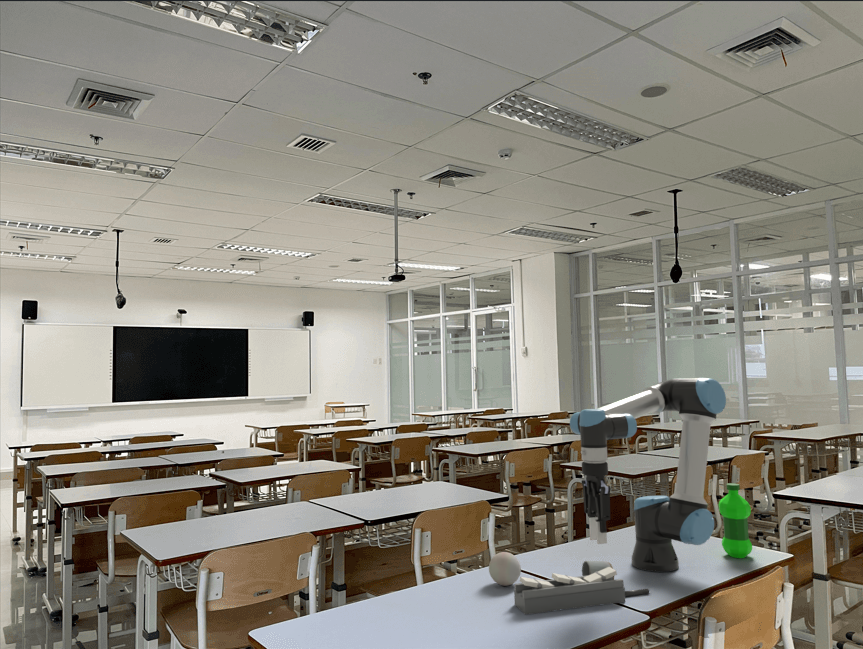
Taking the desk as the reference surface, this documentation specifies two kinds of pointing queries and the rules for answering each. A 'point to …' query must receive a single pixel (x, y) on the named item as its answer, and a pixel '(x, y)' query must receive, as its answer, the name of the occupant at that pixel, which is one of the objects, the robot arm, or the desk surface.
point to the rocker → (600, 575)
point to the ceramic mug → (594, 567)
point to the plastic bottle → (735, 523)
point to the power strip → (571, 595)
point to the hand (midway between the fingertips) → (598, 541)
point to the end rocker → (535, 583)
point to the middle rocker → (567, 579)
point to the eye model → (504, 568)
